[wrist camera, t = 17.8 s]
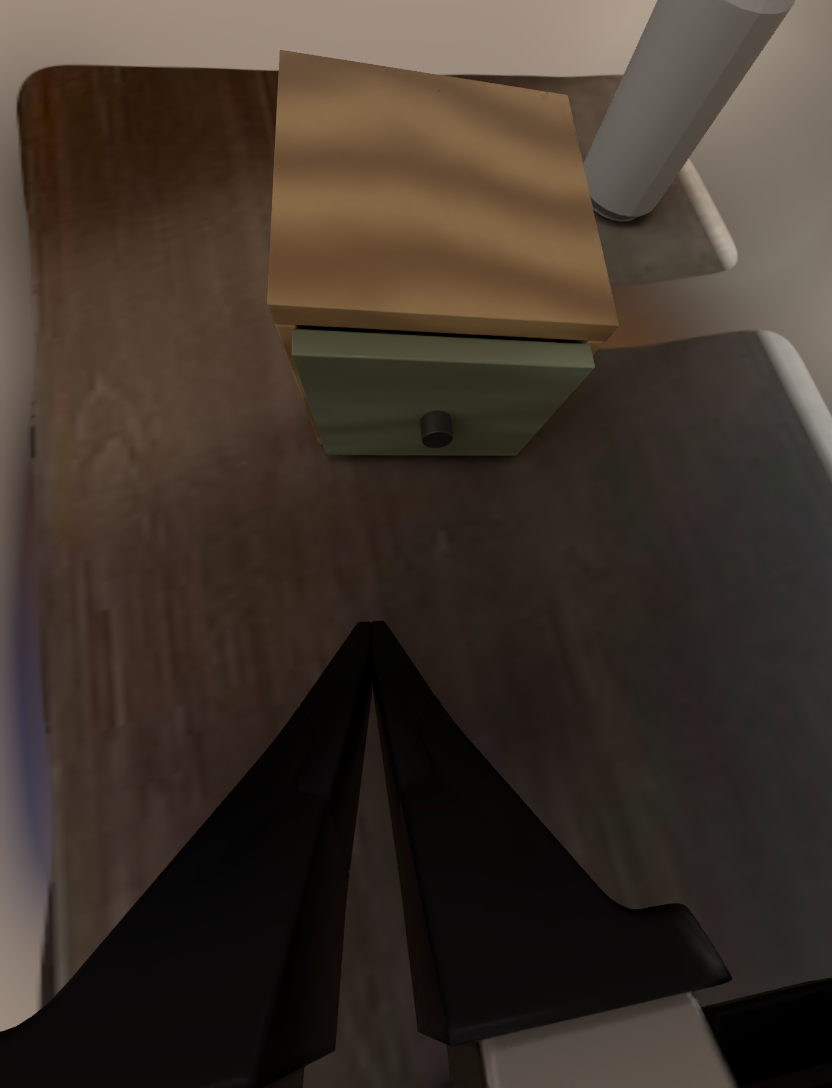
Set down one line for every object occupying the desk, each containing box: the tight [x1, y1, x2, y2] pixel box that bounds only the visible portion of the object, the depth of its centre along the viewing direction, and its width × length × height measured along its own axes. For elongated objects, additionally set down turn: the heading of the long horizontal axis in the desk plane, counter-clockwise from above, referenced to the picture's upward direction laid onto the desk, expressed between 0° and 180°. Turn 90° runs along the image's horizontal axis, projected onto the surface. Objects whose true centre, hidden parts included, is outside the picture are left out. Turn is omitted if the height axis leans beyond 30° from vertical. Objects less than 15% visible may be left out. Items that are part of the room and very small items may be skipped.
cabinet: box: [267, 50, 619, 445], centre depth 18 cm, size 14×14×10 cm
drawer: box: [291, 326, 595, 456], centre depth 17 cm, size 14×12×8 cm
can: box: [583, 0, 795, 222], centre depth 23 cm, size 8×8×12 cm
